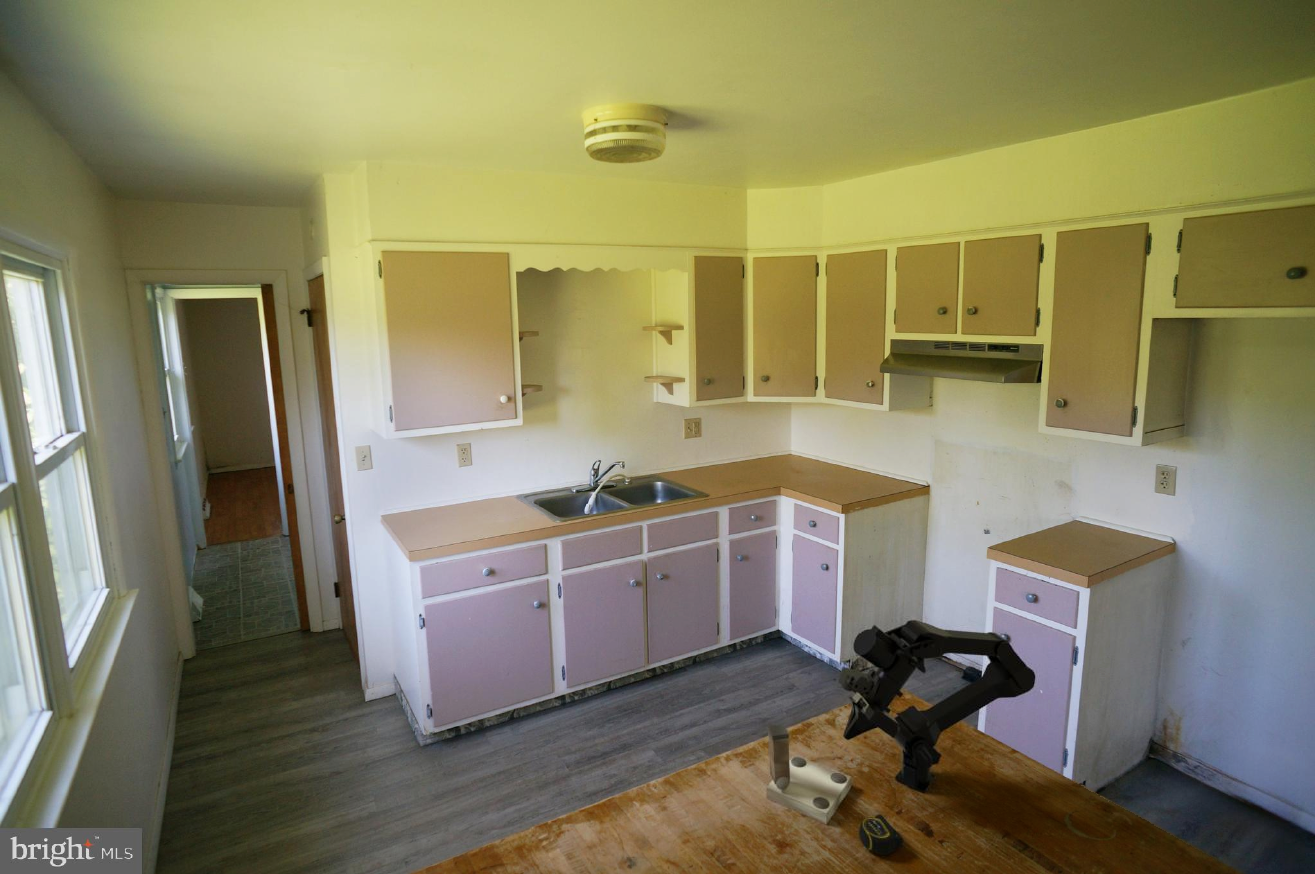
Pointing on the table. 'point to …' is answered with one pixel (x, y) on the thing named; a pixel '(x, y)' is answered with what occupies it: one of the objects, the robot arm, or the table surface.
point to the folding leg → (779, 755)
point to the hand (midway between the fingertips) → (845, 738)
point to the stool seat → (811, 789)
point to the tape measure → (879, 835)
